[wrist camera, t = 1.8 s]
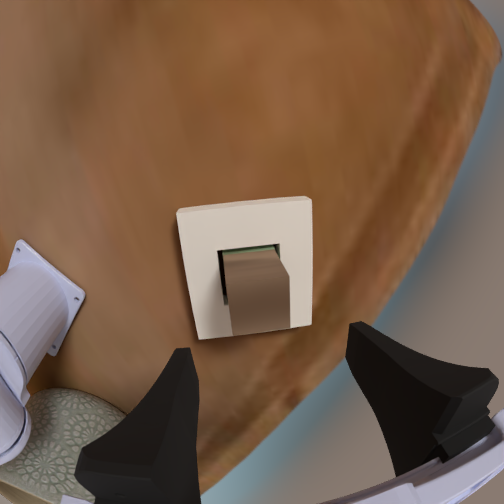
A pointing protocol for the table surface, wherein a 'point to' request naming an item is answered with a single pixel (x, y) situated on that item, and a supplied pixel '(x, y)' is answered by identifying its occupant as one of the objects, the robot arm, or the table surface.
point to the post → (256, 289)
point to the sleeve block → (238, 236)
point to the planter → (56, 446)
